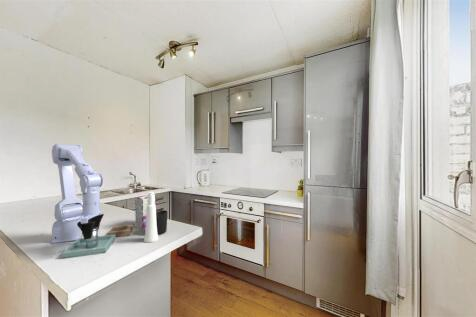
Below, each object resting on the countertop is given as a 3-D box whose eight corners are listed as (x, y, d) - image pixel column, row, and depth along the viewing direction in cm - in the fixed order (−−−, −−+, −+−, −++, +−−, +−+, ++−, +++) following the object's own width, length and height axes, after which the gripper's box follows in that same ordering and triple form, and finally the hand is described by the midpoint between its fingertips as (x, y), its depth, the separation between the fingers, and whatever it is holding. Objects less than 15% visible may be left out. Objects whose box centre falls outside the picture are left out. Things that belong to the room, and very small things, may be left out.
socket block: (107, 238, 89) (107, 233, 89) (113, 231, 98) (113, 226, 98) (129, 235, 92) (129, 230, 92) (133, 229, 100) (133, 224, 100)
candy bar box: (148, 221, 113) (148, 194, 112) (156, 222, 112) (155, 194, 111) (134, 228, 102) (134, 197, 102) (142, 229, 101) (142, 198, 101)
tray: (61, 258, 71) (61, 253, 71) (79, 242, 84) (79, 238, 84) (105, 252, 76) (105, 247, 76) (115, 238, 89) (115, 234, 89)
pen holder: (160, 236, 91) (160, 215, 91) (143, 235, 93) (142, 214, 93) (170, 229, 100) (170, 210, 100) (155, 228, 102) (155, 209, 102)
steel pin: (84, 249, 77) (84, 231, 77) (87, 245, 81) (87, 227, 81) (96, 247, 79) (96, 229, 79) (99, 243, 83) (98, 226, 83)
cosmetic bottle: (143, 243, 83) (143, 193, 83) (144, 238, 89) (144, 191, 89) (158, 241, 86) (158, 192, 86) (158, 236, 91) (158, 190, 91)
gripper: (96, 206, 74) (96, 240, 74) (108, 198, 88) (108, 227, 88) (74, 207, 72) (74, 243, 72) (89, 199, 86) (89, 229, 86)
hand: (91, 235), depth 80 cm, fingers open, 7 cm apart
